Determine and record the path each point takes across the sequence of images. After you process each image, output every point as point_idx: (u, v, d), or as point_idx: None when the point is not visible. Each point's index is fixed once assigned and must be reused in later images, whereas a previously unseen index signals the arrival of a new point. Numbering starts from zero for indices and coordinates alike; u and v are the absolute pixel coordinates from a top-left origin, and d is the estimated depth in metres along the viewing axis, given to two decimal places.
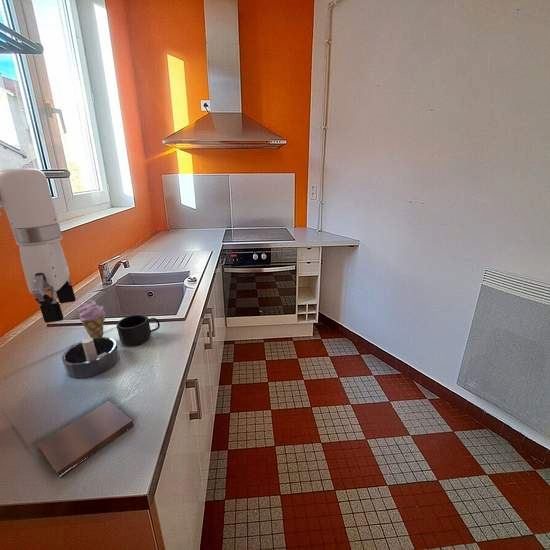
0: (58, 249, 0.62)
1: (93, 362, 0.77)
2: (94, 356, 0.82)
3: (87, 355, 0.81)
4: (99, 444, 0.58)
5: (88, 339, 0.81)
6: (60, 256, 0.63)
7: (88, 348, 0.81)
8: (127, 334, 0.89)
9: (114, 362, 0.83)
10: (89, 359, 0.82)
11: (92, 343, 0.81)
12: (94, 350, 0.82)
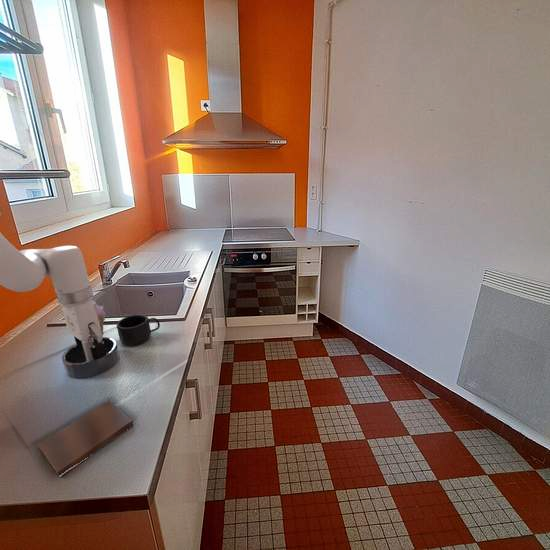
0: None
1: (93, 362, 0.77)
2: None
3: (87, 355, 0.81)
4: (99, 444, 0.58)
5: None
6: None
7: (88, 348, 0.81)
8: (127, 334, 0.89)
9: (114, 362, 0.83)
10: (89, 359, 0.82)
11: None
12: None
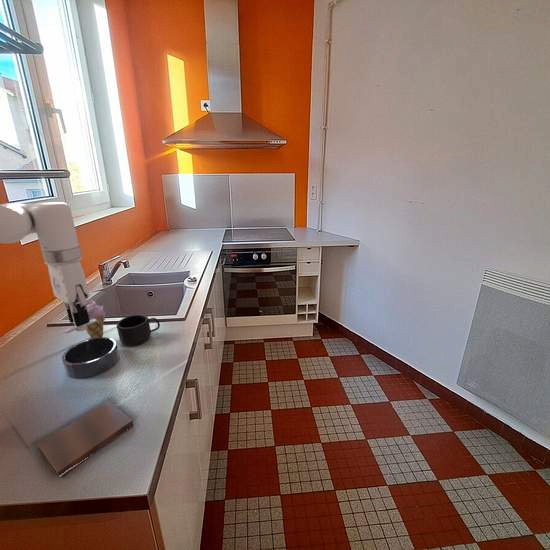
0: None
1: (93, 362, 0.77)
2: None
3: None
4: (99, 444, 0.58)
5: None
6: None
7: None
8: (127, 334, 0.89)
9: (114, 362, 0.83)
10: None
11: None
12: None
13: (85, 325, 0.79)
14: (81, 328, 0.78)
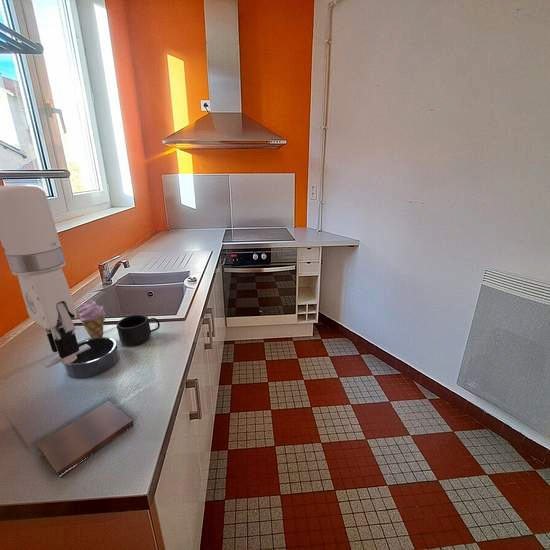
0: None
1: (93, 362, 0.77)
2: None
3: None
4: (99, 444, 0.58)
5: None
6: None
7: None
8: (127, 334, 0.89)
9: (114, 362, 0.83)
10: None
11: None
12: None
13: (74, 355, 0.58)
14: (68, 359, 0.57)
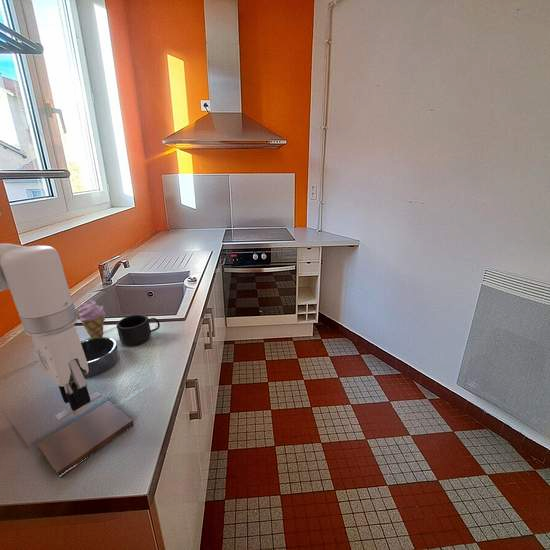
0: None
1: (93, 362, 0.77)
2: None
3: None
4: (99, 444, 0.58)
5: None
6: None
7: None
8: (127, 334, 0.89)
9: (114, 362, 0.83)
10: None
11: None
12: None
13: (85, 405, 0.59)
14: (79, 410, 0.58)
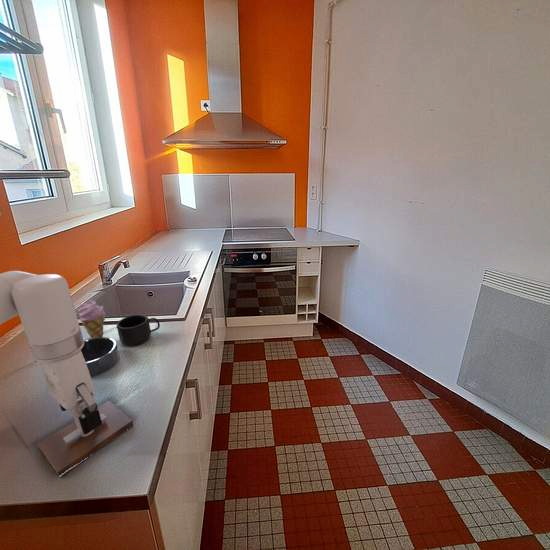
0: None
1: (93, 362, 0.77)
2: None
3: (78, 423, 0.59)
4: (99, 444, 0.58)
5: None
6: None
7: None
8: (127, 334, 0.89)
9: (114, 362, 0.83)
10: (80, 428, 0.59)
11: (85, 406, 0.59)
12: None
13: None
14: None
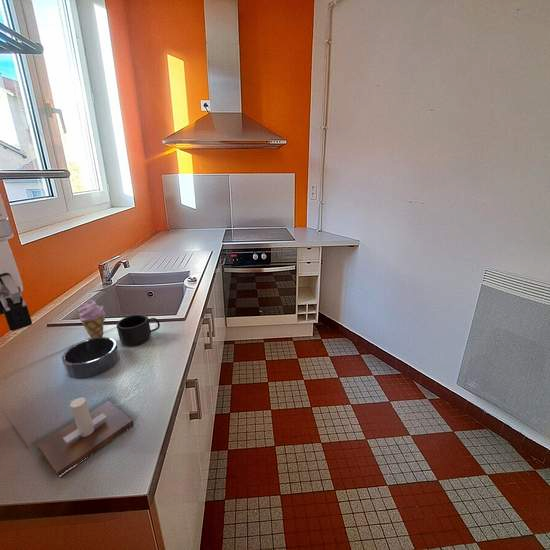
0: None
1: (93, 362, 0.77)
2: (87, 423, 0.59)
3: (78, 423, 0.59)
4: (99, 444, 0.58)
5: (79, 400, 0.59)
6: None
7: (79, 413, 0.58)
8: (127, 334, 0.89)
9: (114, 362, 0.83)
10: (80, 428, 0.59)
11: (85, 406, 0.59)
12: (87, 415, 0.59)
13: (91, 427, 0.61)
14: (86, 432, 0.60)
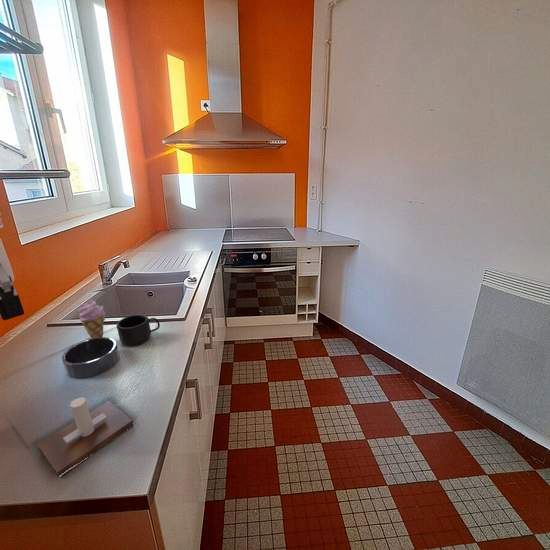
0: None
1: (93, 362, 0.77)
2: (87, 423, 0.59)
3: (78, 423, 0.59)
4: (99, 444, 0.58)
5: (79, 400, 0.59)
6: None
7: (79, 413, 0.58)
8: (127, 334, 0.89)
9: (114, 362, 0.83)
10: (80, 428, 0.59)
11: (85, 406, 0.59)
12: (87, 415, 0.59)
13: (91, 427, 0.61)
14: (86, 432, 0.60)
